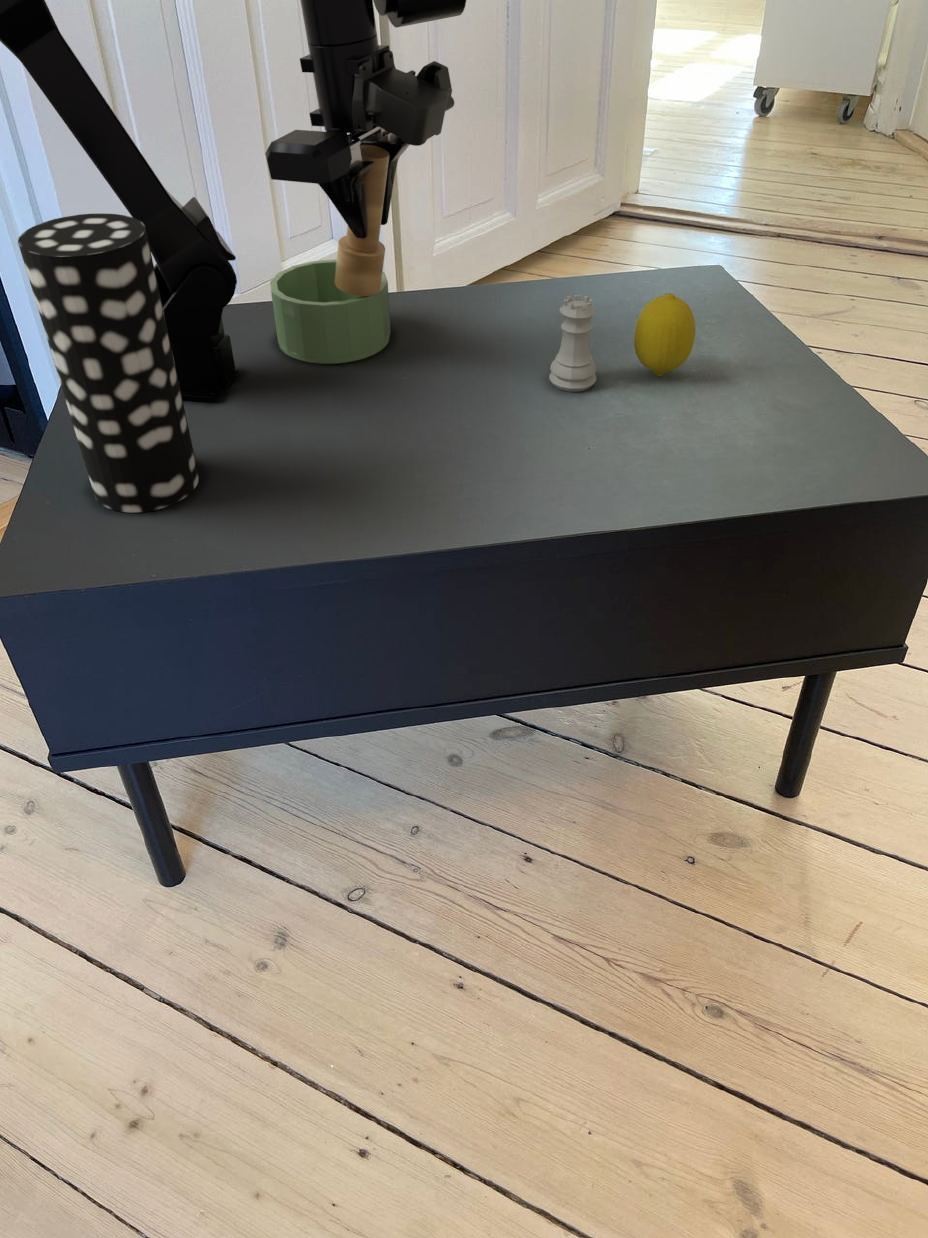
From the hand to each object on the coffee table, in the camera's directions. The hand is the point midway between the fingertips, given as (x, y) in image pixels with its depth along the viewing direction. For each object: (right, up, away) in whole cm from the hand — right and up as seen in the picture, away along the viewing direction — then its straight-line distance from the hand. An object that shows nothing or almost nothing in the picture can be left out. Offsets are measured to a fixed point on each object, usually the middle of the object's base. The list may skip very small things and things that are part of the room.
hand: (371, 230), depth 90 cm
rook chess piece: (+19, -14, +3) cm, 23 cm away
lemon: (+27, -13, +4) cm, 30 cm away
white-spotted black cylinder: (-17, -25, -10) cm, 32 cm away
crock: (-5, -7, +10) cm, 13 cm away
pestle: (-2, -4, +4) cm, 6 cm away
